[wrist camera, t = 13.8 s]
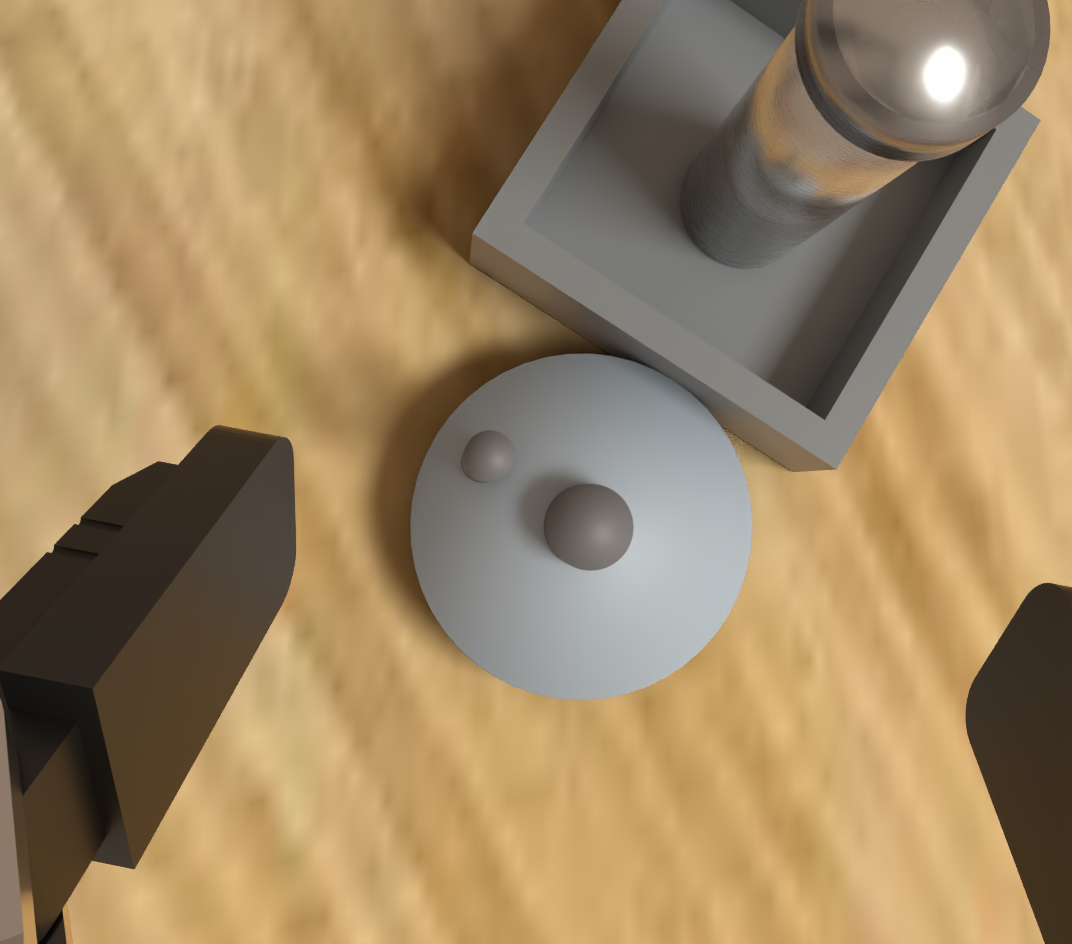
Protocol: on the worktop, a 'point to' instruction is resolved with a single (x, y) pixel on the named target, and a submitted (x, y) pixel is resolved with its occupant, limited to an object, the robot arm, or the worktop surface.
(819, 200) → the salt shaker
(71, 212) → the worktop surface
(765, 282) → the tray
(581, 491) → the pot lid
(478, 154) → the worktop surface
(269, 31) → the worktop surface
